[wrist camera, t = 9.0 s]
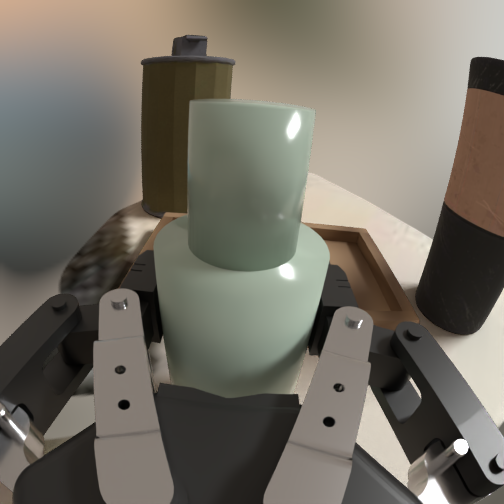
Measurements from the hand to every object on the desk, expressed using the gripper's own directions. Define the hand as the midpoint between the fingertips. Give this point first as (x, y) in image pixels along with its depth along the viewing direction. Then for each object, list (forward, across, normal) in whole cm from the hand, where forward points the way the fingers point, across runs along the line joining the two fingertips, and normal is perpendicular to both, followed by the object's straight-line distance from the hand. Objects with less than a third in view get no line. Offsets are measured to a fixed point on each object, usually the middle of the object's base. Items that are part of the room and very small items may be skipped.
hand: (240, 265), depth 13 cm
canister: (+25, +8, +8) cm, 28 cm away
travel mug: (+7, -18, +8) cm, 21 cm away
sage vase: (-3, 0, +8) cm, 8 cm away
